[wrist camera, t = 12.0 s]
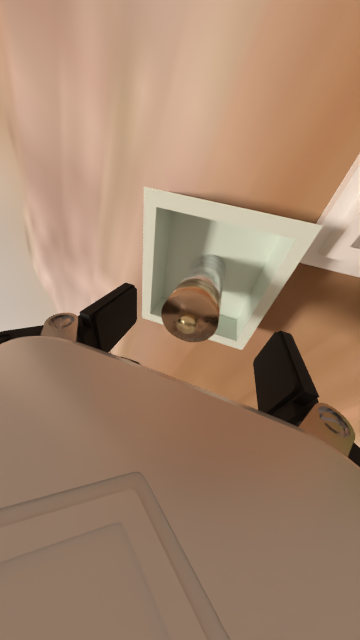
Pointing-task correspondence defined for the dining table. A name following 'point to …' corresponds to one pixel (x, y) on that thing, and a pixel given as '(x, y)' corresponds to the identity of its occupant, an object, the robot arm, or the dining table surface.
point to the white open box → (220, 256)
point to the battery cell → (196, 301)
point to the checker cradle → (339, 229)
